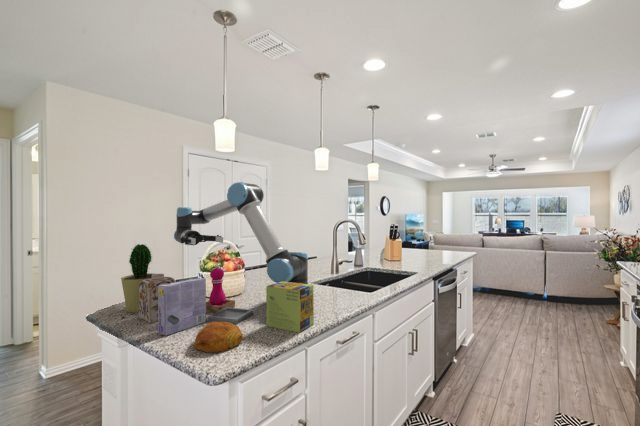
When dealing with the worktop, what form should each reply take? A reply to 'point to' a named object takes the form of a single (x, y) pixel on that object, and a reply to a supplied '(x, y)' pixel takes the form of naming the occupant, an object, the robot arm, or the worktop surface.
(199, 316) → the cake pan box
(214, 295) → the pepper mill
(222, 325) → the bread pastry
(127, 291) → the potted cactus
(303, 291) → the protein box
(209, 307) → the tray
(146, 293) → the decorative jar
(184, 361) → the worktop surface
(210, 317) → the tray
